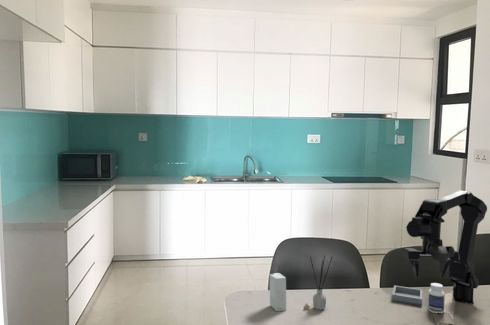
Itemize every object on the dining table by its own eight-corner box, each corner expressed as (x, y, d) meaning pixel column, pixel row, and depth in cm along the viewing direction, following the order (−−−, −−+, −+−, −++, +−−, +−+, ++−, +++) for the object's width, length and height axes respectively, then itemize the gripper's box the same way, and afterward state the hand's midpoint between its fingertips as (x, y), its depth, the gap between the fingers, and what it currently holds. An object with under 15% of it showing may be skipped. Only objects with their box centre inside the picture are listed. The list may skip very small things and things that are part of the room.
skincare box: (286, 310, 143) (287, 277, 143) (275, 312, 142) (276, 279, 141) (279, 303, 149) (280, 272, 149) (268, 305, 148) (269, 273, 147)
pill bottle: (446, 314, 141) (447, 288, 140) (429, 313, 142) (430, 286, 141) (441, 308, 146) (442, 282, 146) (426, 307, 147) (427, 281, 147)
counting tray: (422, 295, 158) (422, 289, 158) (421, 305, 149) (422, 299, 148) (394, 291, 163) (394, 285, 162) (391, 300, 153) (392, 294, 153)
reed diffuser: (328, 305, 148) (330, 252, 147) (334, 313, 141) (336, 258, 140) (302, 306, 147) (303, 253, 146) (307, 314, 140) (308, 259, 139)
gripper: (417, 239, 134) (414, 284, 135) (470, 240, 135) (467, 285, 136) (402, 232, 145) (400, 274, 146) (451, 233, 146) (449, 275, 147)
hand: (429, 277), depth 143 cm, fingers open, 9 cm apart
